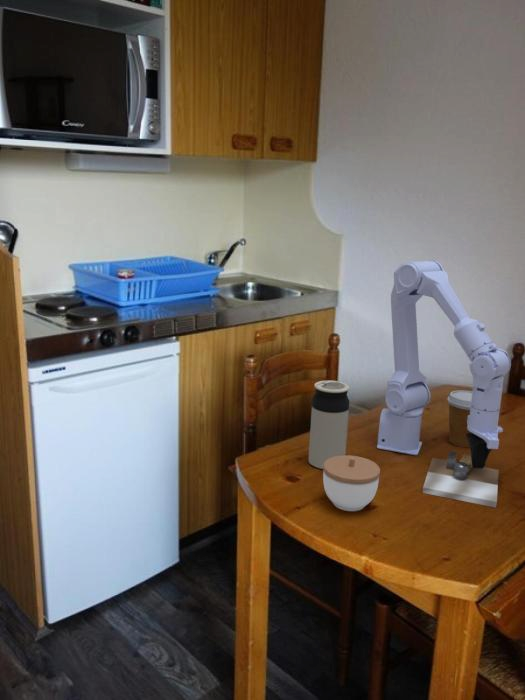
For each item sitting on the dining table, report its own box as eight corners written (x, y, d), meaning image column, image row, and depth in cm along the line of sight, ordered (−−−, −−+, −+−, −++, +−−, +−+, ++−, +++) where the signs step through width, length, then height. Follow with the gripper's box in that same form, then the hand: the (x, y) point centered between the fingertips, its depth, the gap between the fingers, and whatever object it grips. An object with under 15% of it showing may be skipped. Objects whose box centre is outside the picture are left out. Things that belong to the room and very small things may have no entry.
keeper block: (446, 468, 133) (447, 458, 133) (448, 461, 137) (449, 451, 136) (453, 470, 133) (455, 459, 132) (455, 462, 137) (456, 452, 136)
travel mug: (351, 463, 137) (358, 386, 132) (329, 474, 131) (335, 393, 126) (323, 452, 142) (328, 377, 137) (300, 462, 136) (305, 384, 132)
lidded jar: (309, 497, 121) (312, 452, 118) (353, 486, 126) (357, 443, 124) (342, 522, 112) (346, 475, 109) (388, 510, 117) (393, 464, 115)
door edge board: (422, 492, 124) (423, 487, 124) (431, 462, 139) (432, 457, 139) (496, 507, 119) (496, 502, 119) (497, 474, 134) (498, 469, 134)
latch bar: (465, 480, 127) (466, 468, 126) (451, 476, 128) (453, 465, 128) (474, 465, 135) (476, 454, 134) (461, 462, 136) (463, 451, 135)
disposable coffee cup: (477, 453, 145) (484, 405, 142) (437, 443, 150) (443, 396, 147) (487, 441, 153) (493, 394, 150) (448, 432, 158) (454, 387, 155)
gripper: (517, 419, 121) (508, 483, 125) (492, 397, 135) (485, 454, 139) (481, 418, 122) (473, 481, 125) (460, 395, 136) (454, 453, 139)
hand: (477, 467), depth 132 cm, fingers closed, pressing on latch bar
